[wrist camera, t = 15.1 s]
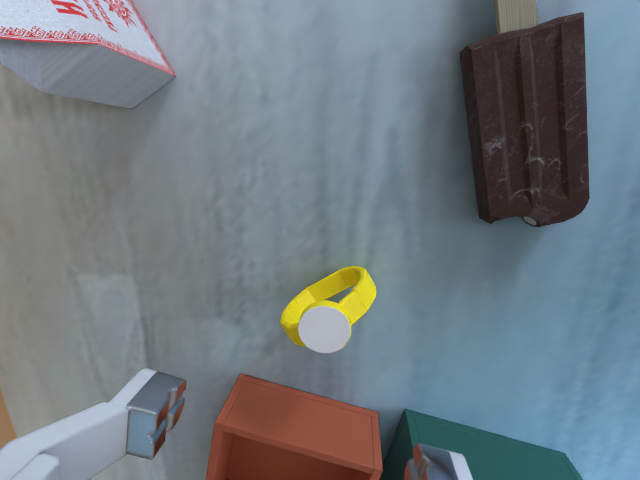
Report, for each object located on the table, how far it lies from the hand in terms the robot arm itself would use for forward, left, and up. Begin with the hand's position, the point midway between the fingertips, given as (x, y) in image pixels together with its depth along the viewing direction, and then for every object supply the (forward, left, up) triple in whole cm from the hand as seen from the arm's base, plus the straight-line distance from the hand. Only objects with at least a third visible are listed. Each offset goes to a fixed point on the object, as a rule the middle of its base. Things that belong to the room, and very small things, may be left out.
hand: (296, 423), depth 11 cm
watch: (0, 0, -12) cm, 12 cm away
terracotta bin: (-1, +15, -11) cm, 19 cm away
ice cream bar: (-7, -14, -12) cm, 20 cm away
